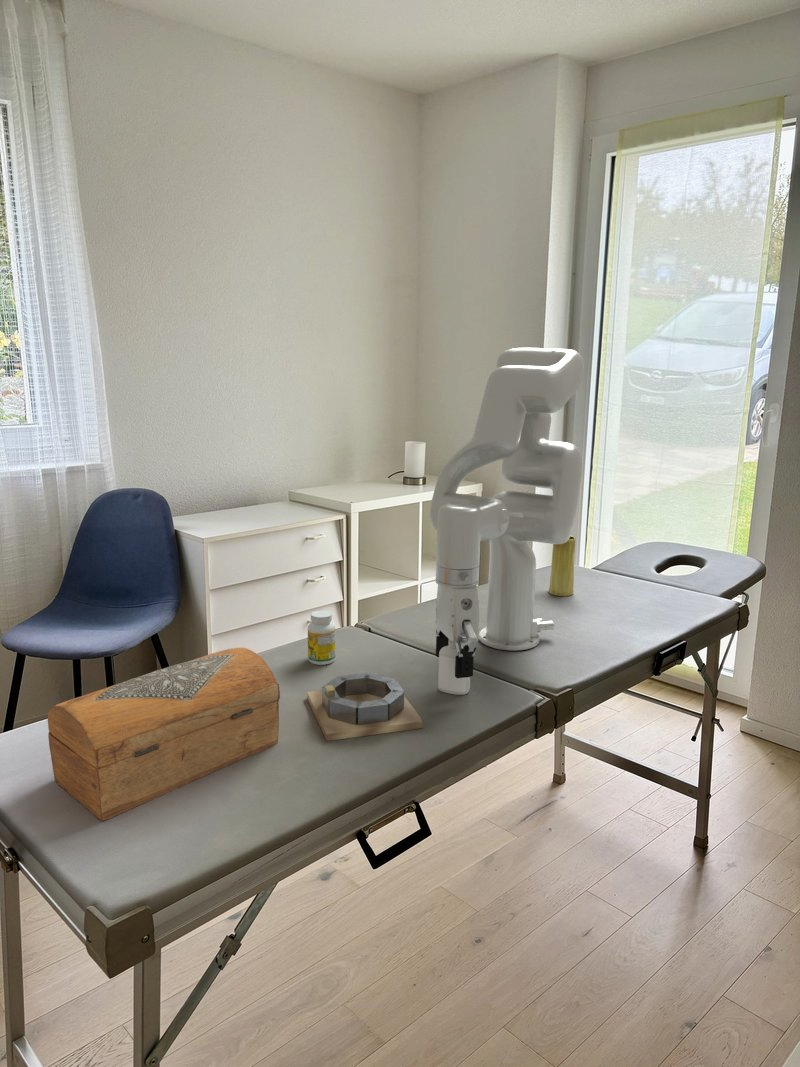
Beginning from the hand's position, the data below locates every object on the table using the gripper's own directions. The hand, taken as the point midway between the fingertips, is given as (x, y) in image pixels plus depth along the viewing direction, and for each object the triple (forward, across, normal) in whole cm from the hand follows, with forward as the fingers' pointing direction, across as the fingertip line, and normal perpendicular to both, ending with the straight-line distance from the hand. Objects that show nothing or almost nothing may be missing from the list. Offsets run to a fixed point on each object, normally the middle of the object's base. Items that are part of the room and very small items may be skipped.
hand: (453, 666), depth 146 cm
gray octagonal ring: (+4, -4, +18) cm, 19 cm away
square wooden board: (+5, -4, +18) cm, 19 cm away
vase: (+4, +46, -46) cm, 66 cm away
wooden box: (+6, -11, +50) cm, 51 cm away
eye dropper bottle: (+5, 0, 0) cm, 5 cm away
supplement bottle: (+5, +20, +20) cm, 29 cm away
